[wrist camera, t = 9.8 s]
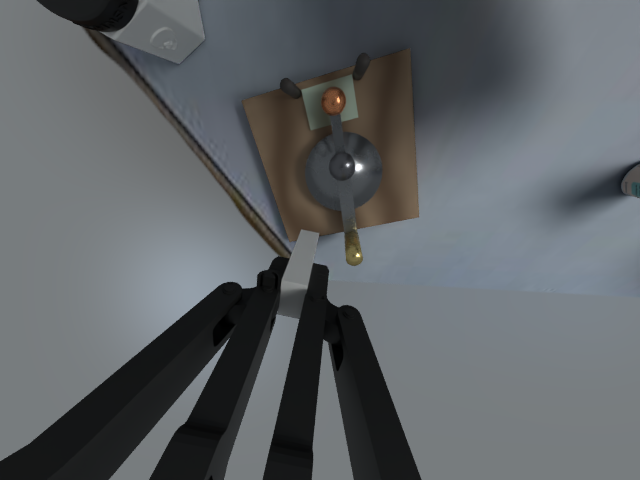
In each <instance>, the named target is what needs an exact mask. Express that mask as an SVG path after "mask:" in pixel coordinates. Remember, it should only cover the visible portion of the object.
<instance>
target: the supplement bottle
mask: <svg viewBox="0 0 640 480" xmlns="http://www.w3.org/2000/svg"><path fill="white" fill-rule="evenodd" d="M621 188H622V191H623V193H625V194H626V195H629V196H633V197H637V198H640V164H638V165H637V166H635V167H634V168H632V169H631V170H630V171H629V172H628V173H627V174H626V175H625V177H624V179H623V181H622V183H621Z"/></svg>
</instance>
